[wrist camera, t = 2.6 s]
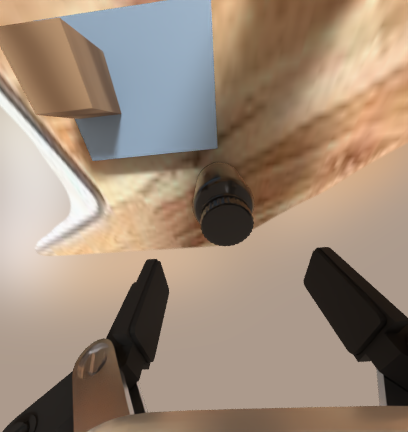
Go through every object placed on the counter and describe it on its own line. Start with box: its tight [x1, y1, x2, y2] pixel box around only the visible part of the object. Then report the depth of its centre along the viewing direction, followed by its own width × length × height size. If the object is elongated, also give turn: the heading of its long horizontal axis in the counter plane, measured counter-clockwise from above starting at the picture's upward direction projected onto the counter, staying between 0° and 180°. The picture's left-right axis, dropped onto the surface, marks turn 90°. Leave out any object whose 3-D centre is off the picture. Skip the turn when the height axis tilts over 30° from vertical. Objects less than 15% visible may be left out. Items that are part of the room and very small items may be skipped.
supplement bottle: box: [193, 162, 254, 246], centre depth 19 cm, size 7×7×12 cm
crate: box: [0, 17, 122, 119], centre depth 14 cm, size 5×5×5 cm
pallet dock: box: [36, 0, 218, 161], centre depth 17 cm, size 16×12×3 cm
